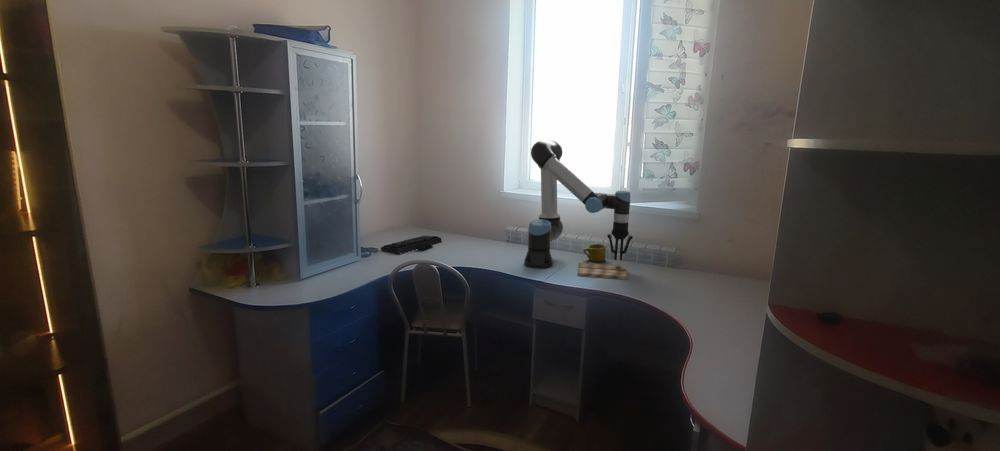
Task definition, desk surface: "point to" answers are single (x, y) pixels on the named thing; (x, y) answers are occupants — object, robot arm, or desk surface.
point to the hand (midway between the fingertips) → (617, 265)
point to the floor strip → (602, 273)
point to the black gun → (413, 244)
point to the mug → (596, 252)
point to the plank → (601, 266)
